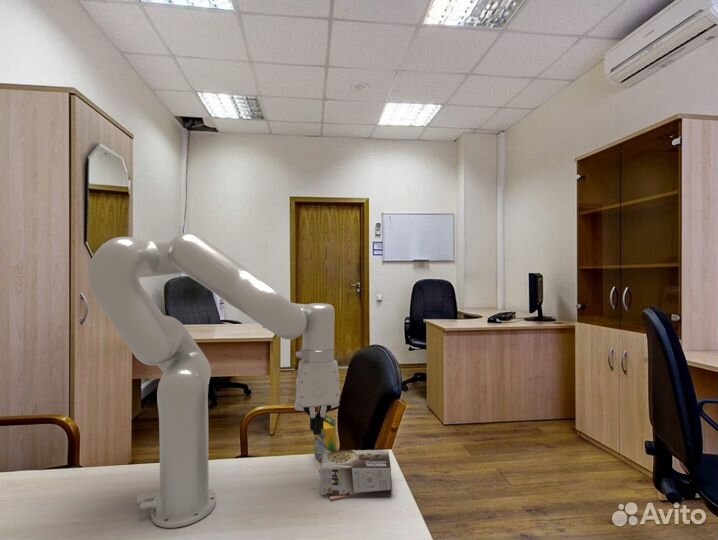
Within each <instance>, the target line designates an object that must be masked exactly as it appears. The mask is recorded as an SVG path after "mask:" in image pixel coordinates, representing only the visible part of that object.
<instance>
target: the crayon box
mask: <svg viewBox="0 0 718 540" xmlns="http://www.w3.org/2000/svg"><path fill="white" fill-rule="evenodd" d="M327 418H328V419H329V420H328V419H327ZM330 420H331V421H330ZM336 429H337V427H336V419H335V418H333V417H331V416H330V415H328V414H327V413H326V414H325V417H324V424H323V429H321V435H319V434H317V435H314V434H313V436H314V458H315V459H316V460H318V461H320V463H322V460H323V455H324V451H325V450H337V435H336V434H337V430H336Z"/></svg>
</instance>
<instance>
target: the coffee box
mask: <svg viewBox="0 0 718 540" xmlns="http://www.w3.org/2000/svg"><path fill="white" fill-rule="evenodd" d="M389 452H390V451H389V449H365V450H364V449H362V450H361V449H357V450H356V449H349V450H348V449H347V450H346V449H344V450H343V449H336V450H325V451H324V455H323V460H322V462H321V466H320V467H321V475H320V489H319V490H320V491H319V494H320V495H321V496H322V495H324V496H325V495H326V496H329V495H360V496H390V497H391V496H393V495H392V493H393V489H392V488H393V487H392V486H393V481H392V467H391V460H390V459H391V458H390V453H389Z"/></svg>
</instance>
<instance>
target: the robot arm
mask: <svg viewBox="0 0 718 540" xmlns="http://www.w3.org/2000/svg"><path fill="white" fill-rule="evenodd" d="M177 274H185V275H186V276H188V277H189V278H190V279H192V280H193V281H196V282H197V283H198V284H200V285H201V286H203V287H204V288H206V289H208V291H211V293H213V294H215V295H216V296H217V297H219V298H220V299H222V300H223V301H225V302H226V303H227V304H228V305H230V306H231V307H234V308H235V309H237V310H239V311H240V312H241V313H243V314H244V315H246V316H247V317H248V318H250V319H252V320H253V321H255V322H256V323H258V324H259V325H260V326H262V327H264V329H267V330H268V331H269V332H271V333H272V334H274V335H276V336H277V337H279V338H281V339H284V340H288V341H289V340H294V339H296V338H299V337H300V336H302V347H301V349H300V350H299V351H296V352H295V357H296V358H301V360H299V362H298V367H297V372H296V378H295V379H296V381H295V390H294V391H295V393H294V395H295V402H294V405H293V408H294V410H295V411H301V412H305V413H306V414H307V415H308V416H309V430H310V431H312V433H313V436H314V435H317V434H319V435H321V429H323V424H324V417H325V414H326V415H327V413H328V412H329V411H331V409H334V408H337V407H339V406H340V399H341V387H340V384H341V383H340V373H339V365H338V364H339V363H338V360H336V359H335V356H334V355H335V323H336V322H335V319H336V317H335V308H334V305H332V304H330V303H322V302H321V303H319V302H318V303H317V302H315V303H308V304H305V303H304V304H303V303H295V302H291V301H290V300H288V299H287V298H286V297H284V295H282V294H280V293H279V292H277V291H276V290H274V289H273V288H271V287H270V286H268V285H267V284H266V283H265V282H264V281H262V280H261V279H260V278H259V277H257V276H256V275H255V273H253V272H252V271H251V270H250V269H248V268H247V267H245V266H244V265H243V264H241V263H240V262H238V261H237V260H235V259H234V258H232V257H231V256H229V255H228V254H227V253H225V252H224V251H222V250H221V249H220V248H218V247H217V246H216V245H214V244H212V243H211V242H210V241H208V240H207V239H206V238H204V237H202V236H201V235H199V234H197V233H194V232H183V233H180V234H178V235H176V236H175V237H174V238H164V239H163V238H161V239H147V240H145V239H144V240H142V239H138V238H135V237H133V236H132V237H130V236H119V237H113V238H111V239H109V240H107V241H106V242H104V243H103V244H101V246H99V248H98V249H97V250H96V251H95V252H94V254H93V256H92V258H91V260H90V262H89V265H88V270H87V283H88V287H89V290H90V291H91V295H92V296H93V298H94V300H95V301H96V303H97V305H98V306H99V307H100V309H101V310H102V311H103V313H104V314H105V315H106V317H107V318H108V319H109V320H108V321H110V322H111V324H112V326H113V327H114V329H115V330H116V331H117V333H118V335H120V337H121V338H122V340H123V341H124V343H125V344H126V345H127V347H128V348H129V350H130V351H131V353H132V354H133V355H134V357H135V358H136V359H137V360H138V361H139V362H140V363H142V364H144V365H147V366H158V368H159V369H160V371H162V373H163V374H162V375H161V377H160V380H159V381H158V386H157V392H156V399H157V410H158V421H159V423H158V424H159V425H158V427H159V433H158V434H159V489H157V490H154V491H153V492H151V493H141V494H137V497H136V506H140V510H141V511H143V510H148V509H151V520H152V522H153V523H154V525H156V526H158V527H161V528H170V529H173V528H180V527H185V526H188V525H192V524H194V523H197V522H198V521H200V520H202V519H203V518H205V517H206V516H208V515H209V514H210V513H212V511H213V510H214V508H215V506H216V504H217V494H216V493H215V491H214V490H212V489H210V487H209V470H210V469H209V397H208V395H209V384H210V380H211V376H212V368H211V364H210V362H209V360H208V358H207V356H206V355H205V354H204V351H202V350H201V348H200V346H199V345H198V344H197V342H196V341H195V339H194V338H193V337H192V335H191V334H190V332H189V331H188V330H187V329H188V328H186V327H185V326H184V324H183V323H182V322H181V321H180V320H178V319H177V318H175V317H173V316H170V315H164V314H163V313H162V311H161V310H160V308H159V307H158V306H157V305H156V303H155V301H154V300H153V298H152V297H151V296H150V294H149V293H148V292H147V291H146V289H144V288H143V285H142V284H141V281H140V279H141V278H149V277H150V278H151V277H157V276H167V275H168V276H169V275H177ZM316 407H318V409H317V410H318V411H317V412H316Z"/></svg>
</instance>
